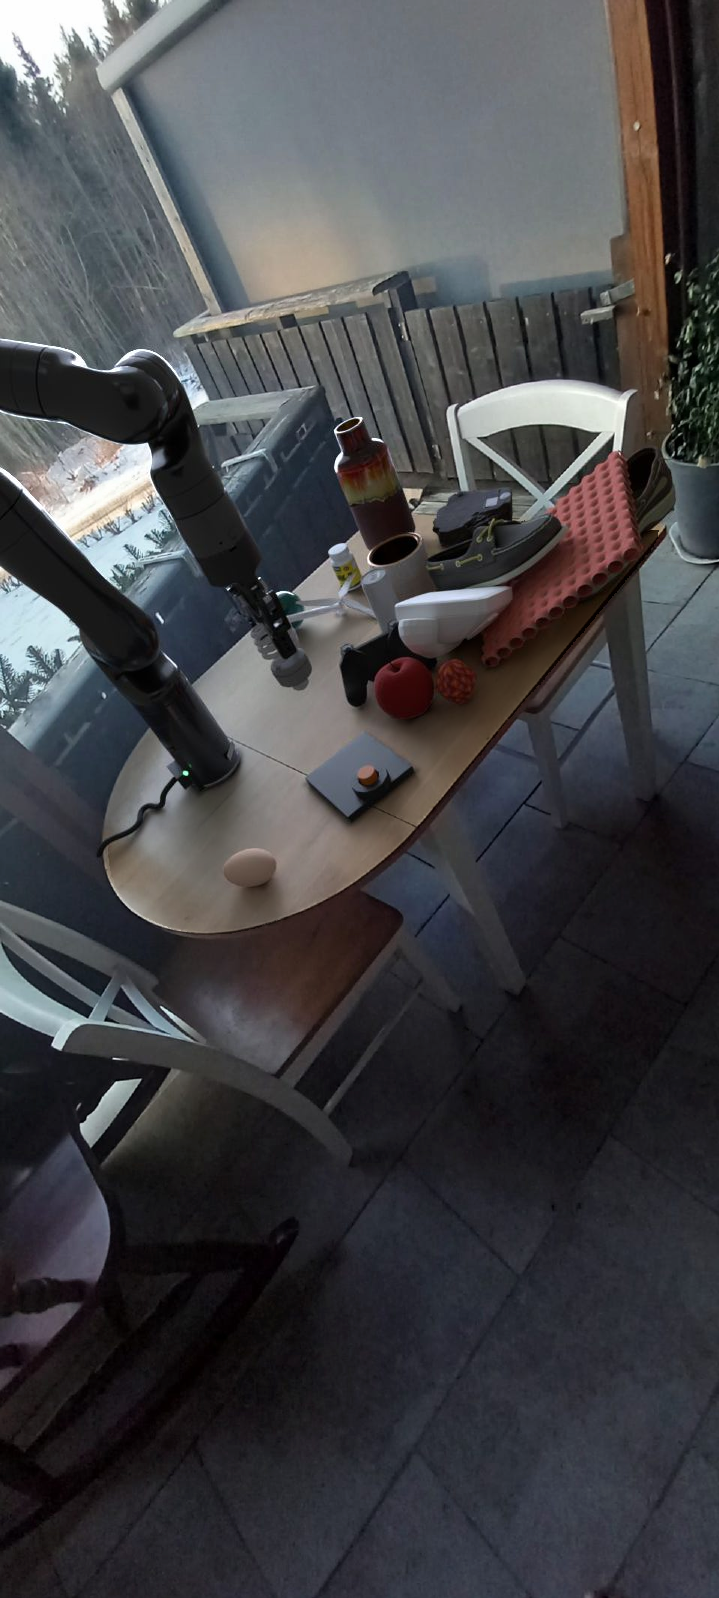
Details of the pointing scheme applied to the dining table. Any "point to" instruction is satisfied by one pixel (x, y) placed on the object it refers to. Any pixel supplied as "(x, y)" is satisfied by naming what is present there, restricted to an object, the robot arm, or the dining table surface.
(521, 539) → the boat shoe
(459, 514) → the rock sample
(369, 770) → the button
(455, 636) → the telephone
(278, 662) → the light bulb
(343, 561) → the supplement bottle
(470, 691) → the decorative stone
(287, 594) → the sphere
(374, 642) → the game controller
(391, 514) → the vase
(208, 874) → the dining table surface
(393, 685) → the apple
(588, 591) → the egg carton
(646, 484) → the boat shoe
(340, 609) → the wind turbine
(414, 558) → the planter
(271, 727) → the dining table surface
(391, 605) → the beverage can
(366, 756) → the push button pad
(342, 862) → the dining table surface
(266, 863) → the egg
